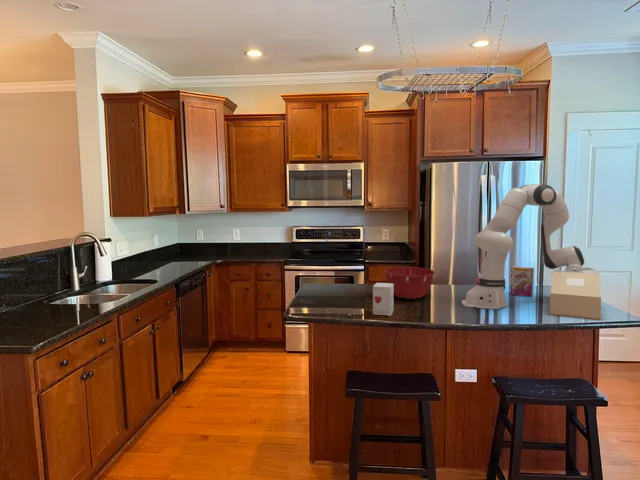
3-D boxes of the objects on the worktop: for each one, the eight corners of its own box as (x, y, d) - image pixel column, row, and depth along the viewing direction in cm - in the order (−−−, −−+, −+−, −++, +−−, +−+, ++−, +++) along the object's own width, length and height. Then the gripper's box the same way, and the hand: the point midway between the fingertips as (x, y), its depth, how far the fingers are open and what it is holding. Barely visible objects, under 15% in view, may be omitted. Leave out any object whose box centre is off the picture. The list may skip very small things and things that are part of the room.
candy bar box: (510, 295, 237) (510, 267, 236) (512, 293, 241) (513, 265, 240) (531, 297, 230) (532, 268, 229) (533, 295, 234) (534, 267, 233)
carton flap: (552, 272, 205) (552, 271, 204) (599, 274, 194) (599, 273, 194) (550, 294, 195) (550, 293, 195) (600, 298, 185) (600, 297, 184)
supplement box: (372, 315, 201) (372, 285, 200) (376, 311, 210) (376, 282, 208) (390, 317, 198) (390, 286, 197) (394, 312, 206) (393, 283, 205)
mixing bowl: (445, 297, 236) (445, 270, 235) (412, 305, 219) (412, 277, 218) (407, 289, 259) (407, 265, 257) (374, 296, 242) (374, 270, 240)
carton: (551, 306, 209) (551, 287, 209) (598, 311, 199) (599, 291, 198) (549, 314, 196) (550, 293, 195) (600, 319, 185) (601, 298, 185)
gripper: (551, 266, 217) (550, 270, 206) (598, 269, 207) (600, 273, 195) (551, 278, 218) (550, 283, 206) (597, 281, 207) (599, 286, 196)
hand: (574, 278), depth 201 cm, fingers closed
